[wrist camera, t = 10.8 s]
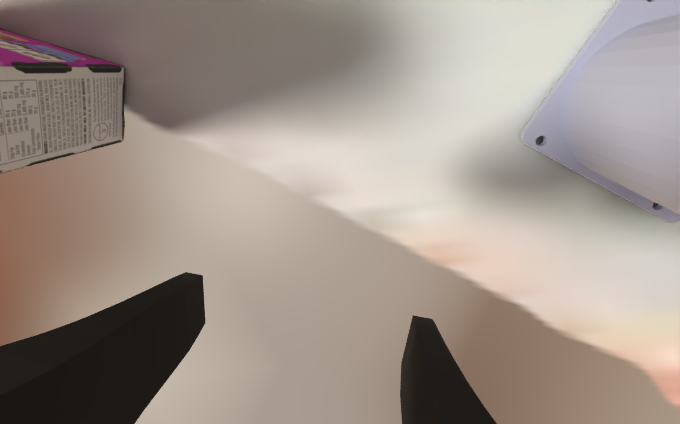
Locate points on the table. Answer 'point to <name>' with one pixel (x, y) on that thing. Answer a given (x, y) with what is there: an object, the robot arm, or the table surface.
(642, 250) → the table surface
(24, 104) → the candy bar box
